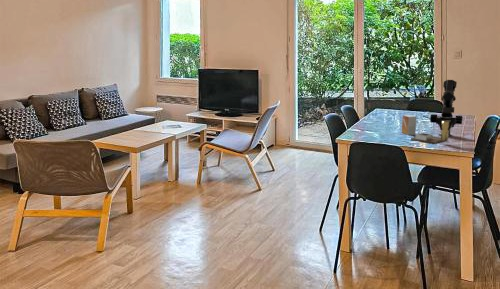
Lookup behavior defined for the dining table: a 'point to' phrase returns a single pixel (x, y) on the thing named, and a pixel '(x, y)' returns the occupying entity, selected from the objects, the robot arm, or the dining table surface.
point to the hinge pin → (445, 130)
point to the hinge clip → (424, 136)
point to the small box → (409, 124)
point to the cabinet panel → (432, 141)
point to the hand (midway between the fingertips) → (444, 129)
